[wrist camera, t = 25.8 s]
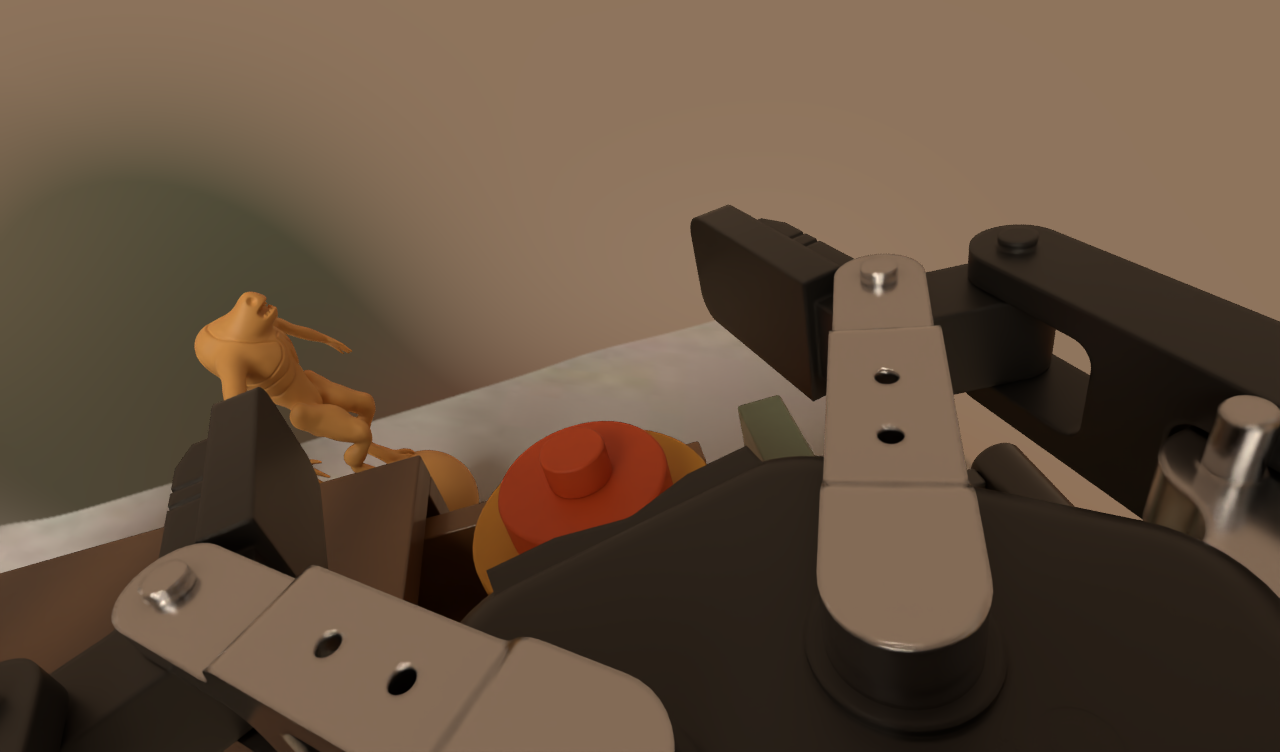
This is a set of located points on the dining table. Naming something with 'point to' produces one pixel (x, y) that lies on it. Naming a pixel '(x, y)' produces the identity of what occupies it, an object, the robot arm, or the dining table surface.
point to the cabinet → (94, 578)
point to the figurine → (310, 391)
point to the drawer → (765, 433)
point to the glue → (576, 487)
